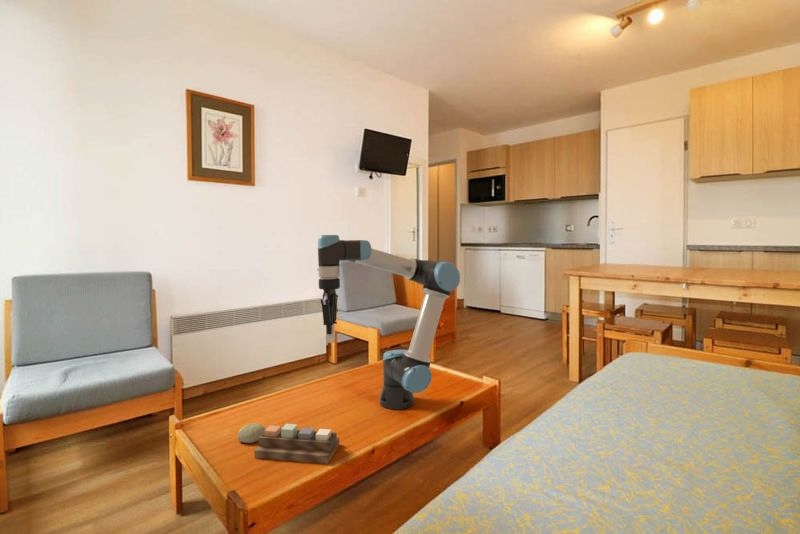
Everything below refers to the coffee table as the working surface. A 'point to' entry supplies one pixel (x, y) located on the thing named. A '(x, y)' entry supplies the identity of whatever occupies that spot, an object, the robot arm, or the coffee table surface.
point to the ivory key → (323, 435)
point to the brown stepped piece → (297, 448)
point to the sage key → (289, 431)
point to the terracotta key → (272, 431)
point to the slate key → (306, 434)
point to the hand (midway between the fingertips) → (330, 342)
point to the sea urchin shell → (250, 432)
